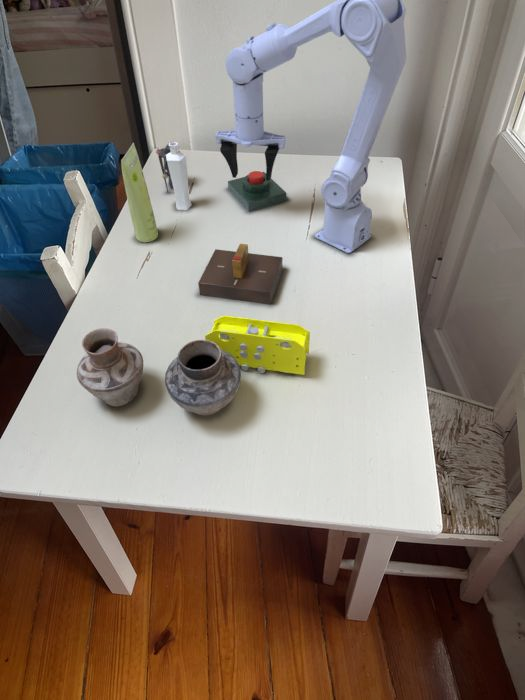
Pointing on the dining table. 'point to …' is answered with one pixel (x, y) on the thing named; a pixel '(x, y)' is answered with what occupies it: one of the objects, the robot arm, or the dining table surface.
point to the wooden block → (240, 261)
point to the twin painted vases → (181, 376)
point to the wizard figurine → (165, 164)
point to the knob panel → (252, 285)
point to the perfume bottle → (179, 176)
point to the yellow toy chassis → (262, 343)
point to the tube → (138, 197)
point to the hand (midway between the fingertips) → (251, 177)
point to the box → (256, 193)
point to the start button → (256, 177)
